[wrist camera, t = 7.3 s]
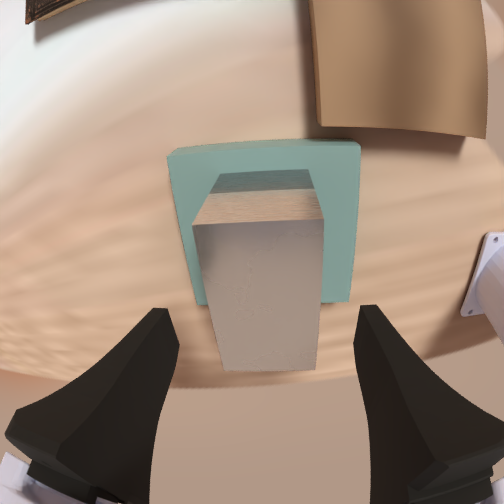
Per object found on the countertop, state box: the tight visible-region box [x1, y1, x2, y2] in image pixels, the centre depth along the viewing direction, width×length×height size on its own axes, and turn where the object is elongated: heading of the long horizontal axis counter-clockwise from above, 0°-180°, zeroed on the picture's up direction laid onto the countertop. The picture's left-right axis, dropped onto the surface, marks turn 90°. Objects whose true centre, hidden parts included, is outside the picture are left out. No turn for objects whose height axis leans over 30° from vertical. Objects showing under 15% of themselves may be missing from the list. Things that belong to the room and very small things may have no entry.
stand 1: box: [167, 139, 361, 305], centre depth 18 cm, size 10×10×2 cm
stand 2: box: [308, 0, 488, 139], centre depth 12 cm, size 10×10×2 cm
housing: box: [192, 169, 324, 371], centre depth 15 cm, size 8×4×6 cm, turn 5°
